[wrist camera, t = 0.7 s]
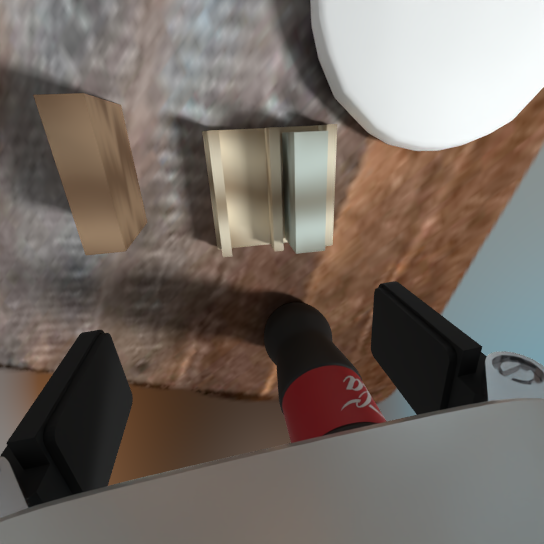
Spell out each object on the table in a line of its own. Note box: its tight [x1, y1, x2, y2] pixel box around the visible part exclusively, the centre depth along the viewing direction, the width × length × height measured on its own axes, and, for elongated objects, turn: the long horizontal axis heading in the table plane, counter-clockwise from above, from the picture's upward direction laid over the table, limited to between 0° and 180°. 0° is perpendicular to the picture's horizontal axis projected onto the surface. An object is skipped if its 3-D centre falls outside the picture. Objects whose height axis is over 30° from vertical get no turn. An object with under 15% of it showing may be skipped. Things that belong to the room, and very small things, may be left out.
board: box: [33, 93, 147, 255], centre depth 26 cm, size 11×3×9 cm, turn 3°
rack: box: [202, 124, 337, 257], centre depth 31 cm, size 12×13×6 cm
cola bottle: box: [264, 302, 387, 443], centre depth 28 cm, size 8×8×30 cm
